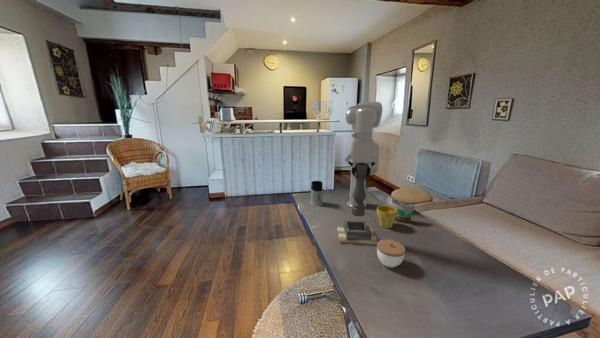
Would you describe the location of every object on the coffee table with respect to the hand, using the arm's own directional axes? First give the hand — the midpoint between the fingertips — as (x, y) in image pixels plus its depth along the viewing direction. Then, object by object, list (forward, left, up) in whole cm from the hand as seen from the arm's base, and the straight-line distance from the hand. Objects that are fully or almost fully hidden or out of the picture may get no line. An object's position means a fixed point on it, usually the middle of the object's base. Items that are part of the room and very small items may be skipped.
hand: (360, 175), depth 106 cm
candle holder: (0, 0, -20) cm, 20 cm away
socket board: (0, 0, -32) cm, 32 cm away
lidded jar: (+20, +10, -32) cm, 39 cm away
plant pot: (-13, +18, -32) cm, 39 cm away
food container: (-19, +29, -32) cm, 47 cm away
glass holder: (-40, -18, -32) cm, 54 cm away
